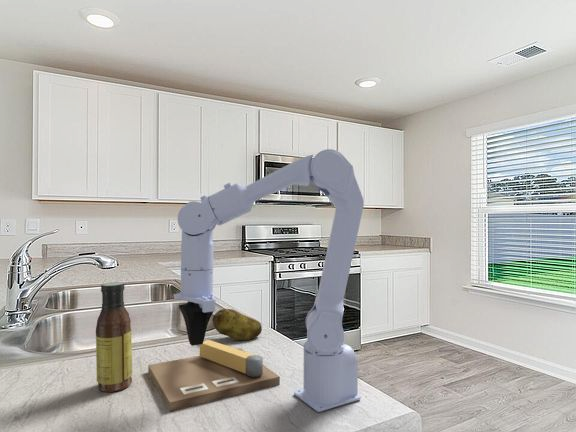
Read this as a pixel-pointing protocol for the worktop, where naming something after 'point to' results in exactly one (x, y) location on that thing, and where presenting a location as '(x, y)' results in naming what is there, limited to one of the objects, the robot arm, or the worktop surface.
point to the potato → (236, 325)
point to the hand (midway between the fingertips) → (196, 343)
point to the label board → (203, 381)
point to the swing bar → (232, 358)
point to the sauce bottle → (113, 340)
